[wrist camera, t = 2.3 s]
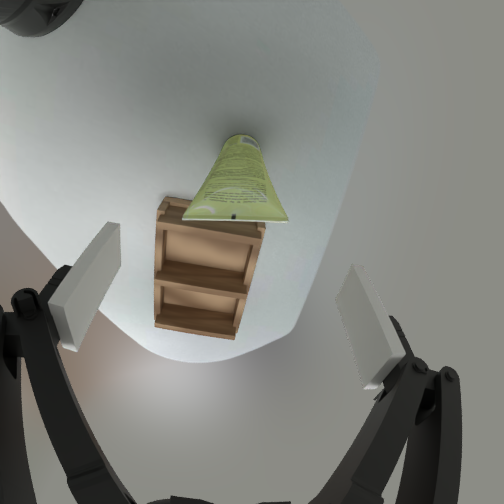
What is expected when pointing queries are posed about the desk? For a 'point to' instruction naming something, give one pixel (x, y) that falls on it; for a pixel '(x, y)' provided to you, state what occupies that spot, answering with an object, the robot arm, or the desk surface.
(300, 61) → the desk surface
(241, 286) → the rack
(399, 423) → the robot arm
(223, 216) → the tube
